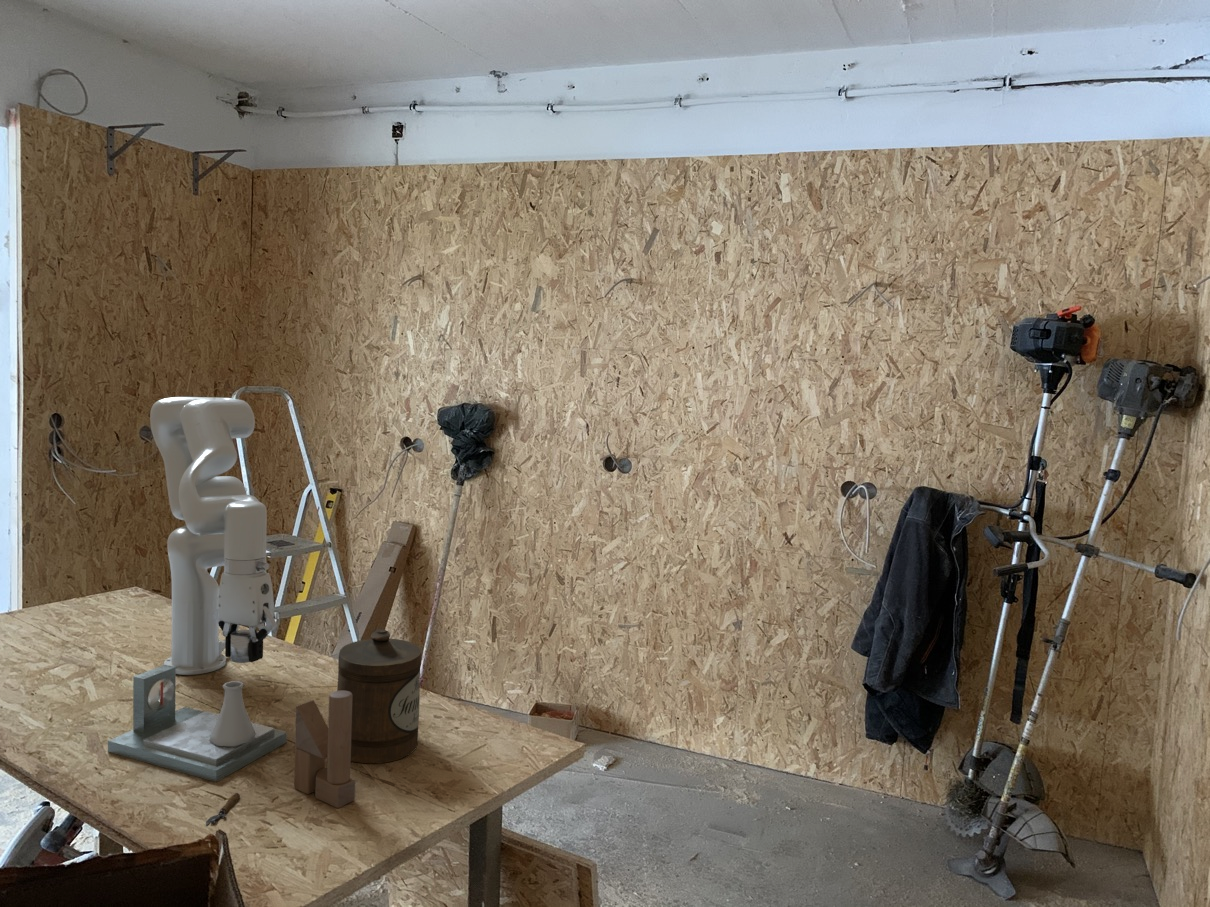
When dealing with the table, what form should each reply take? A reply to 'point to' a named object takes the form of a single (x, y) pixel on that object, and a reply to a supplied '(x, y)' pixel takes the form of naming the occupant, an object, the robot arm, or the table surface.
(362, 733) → the wooden container
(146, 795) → the table surface
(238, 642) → the silver jar with knob
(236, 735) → the flask
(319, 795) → the brown wooden pieces
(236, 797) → the can opener
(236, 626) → the robot arm
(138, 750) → the scale
